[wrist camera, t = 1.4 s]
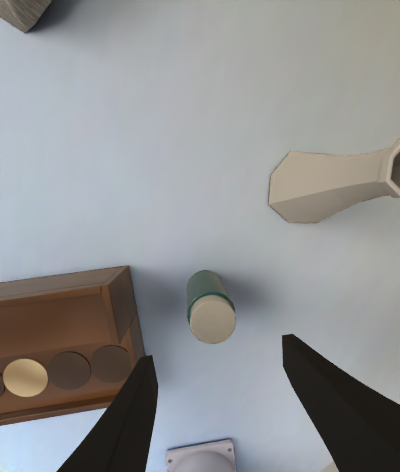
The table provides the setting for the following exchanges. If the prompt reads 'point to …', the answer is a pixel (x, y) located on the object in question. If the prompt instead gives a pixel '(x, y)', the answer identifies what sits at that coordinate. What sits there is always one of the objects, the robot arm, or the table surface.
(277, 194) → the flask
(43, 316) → the spice shelf
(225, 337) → the cylinder
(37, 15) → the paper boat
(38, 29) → the table surface
